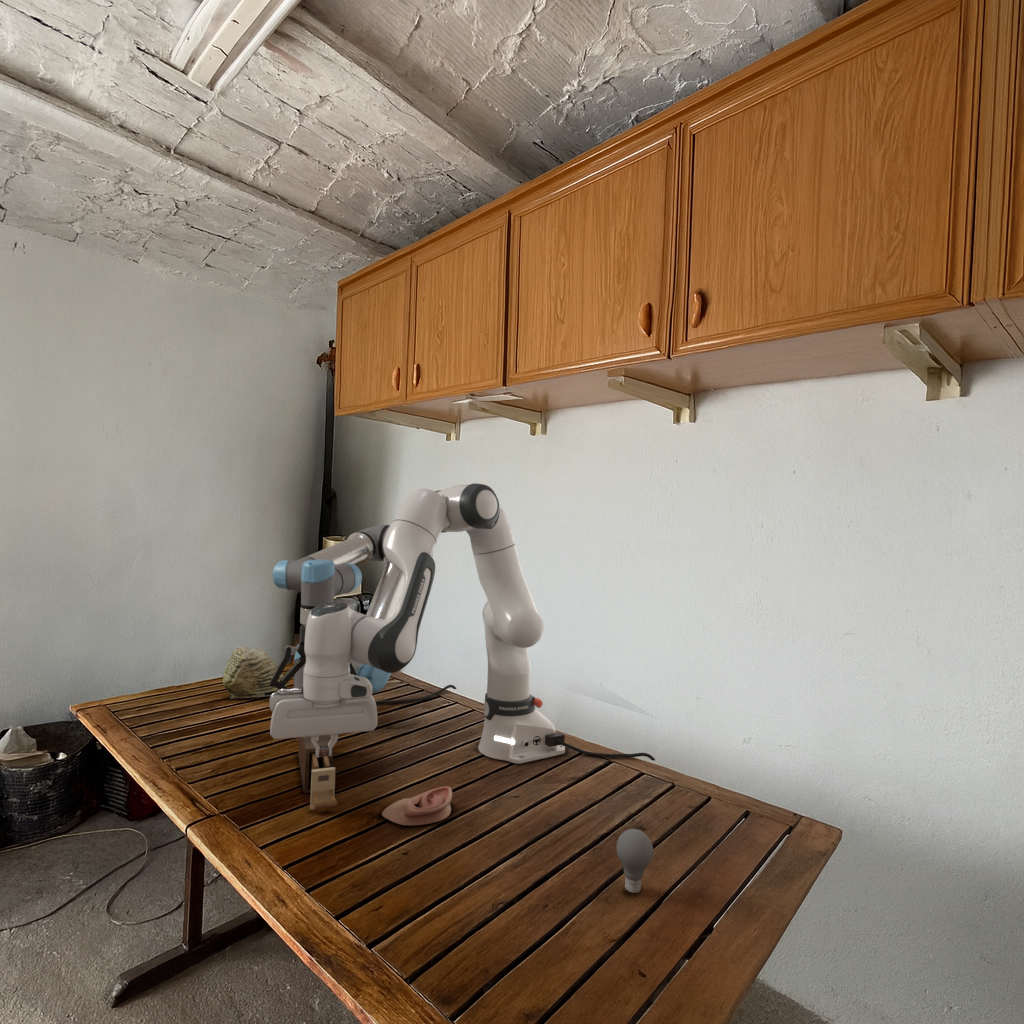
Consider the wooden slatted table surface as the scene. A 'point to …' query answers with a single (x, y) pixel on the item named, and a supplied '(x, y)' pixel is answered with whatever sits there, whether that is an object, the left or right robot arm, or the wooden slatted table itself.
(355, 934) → the wooden slatted table surface
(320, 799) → the drawer
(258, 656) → the fossil
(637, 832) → the light bulb
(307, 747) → the cabinet
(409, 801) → the anatomical model
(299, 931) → the wooden slatted table surface
